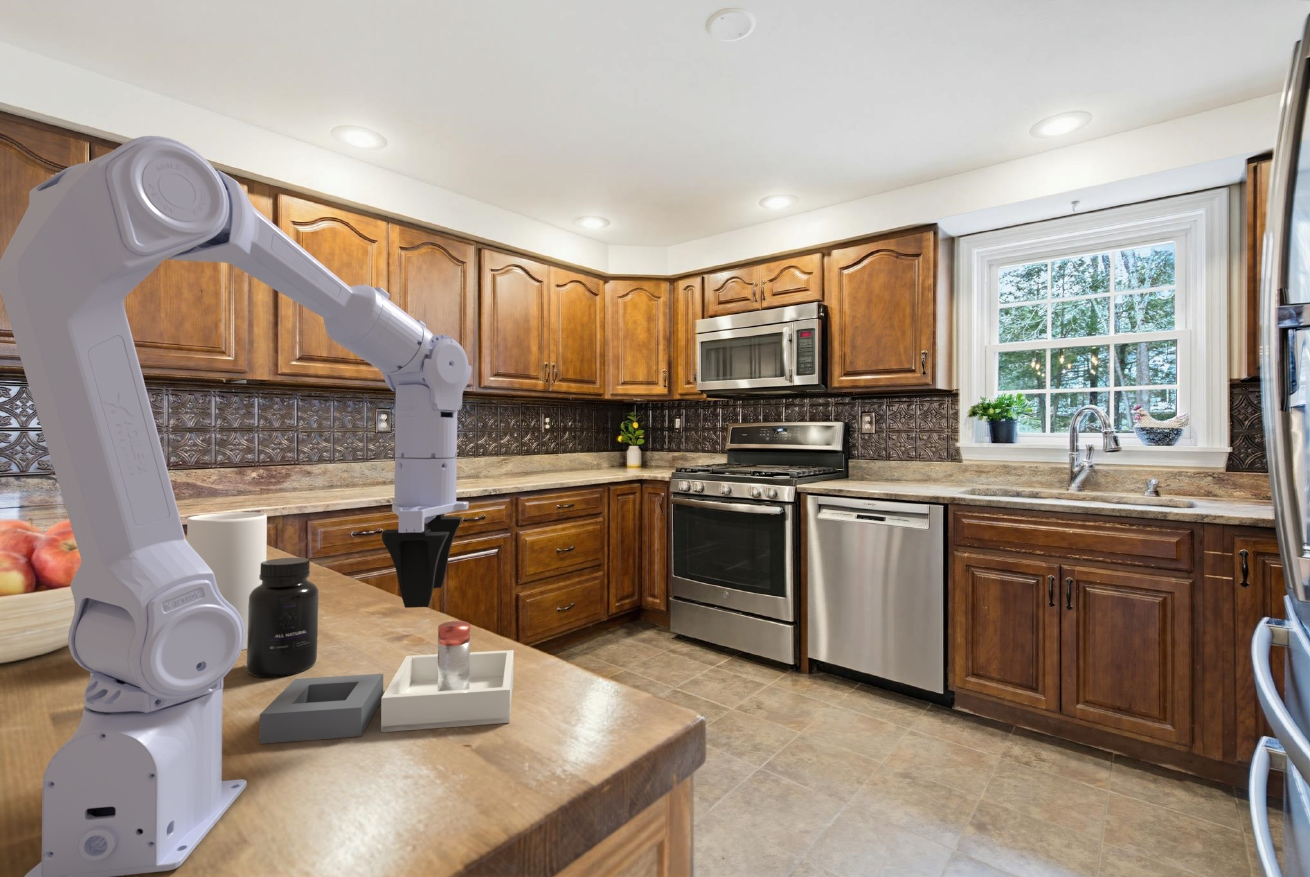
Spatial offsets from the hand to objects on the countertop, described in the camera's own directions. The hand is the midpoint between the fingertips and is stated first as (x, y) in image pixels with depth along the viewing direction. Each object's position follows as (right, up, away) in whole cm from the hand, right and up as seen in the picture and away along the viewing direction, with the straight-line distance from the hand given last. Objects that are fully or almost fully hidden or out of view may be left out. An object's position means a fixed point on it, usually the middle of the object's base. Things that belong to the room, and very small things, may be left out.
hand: (424, 596), depth 62 cm
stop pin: (+3, -10, 0) cm, 10 cm away
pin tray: (+3, -10, 0) cm, 11 cm away
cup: (-31, -10, +17) cm, 37 cm away
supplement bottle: (-19, -10, +9) cm, 24 cm away
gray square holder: (-7, -10, -4) cm, 13 cm away
